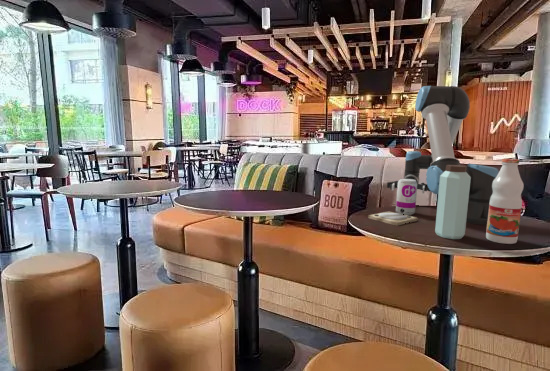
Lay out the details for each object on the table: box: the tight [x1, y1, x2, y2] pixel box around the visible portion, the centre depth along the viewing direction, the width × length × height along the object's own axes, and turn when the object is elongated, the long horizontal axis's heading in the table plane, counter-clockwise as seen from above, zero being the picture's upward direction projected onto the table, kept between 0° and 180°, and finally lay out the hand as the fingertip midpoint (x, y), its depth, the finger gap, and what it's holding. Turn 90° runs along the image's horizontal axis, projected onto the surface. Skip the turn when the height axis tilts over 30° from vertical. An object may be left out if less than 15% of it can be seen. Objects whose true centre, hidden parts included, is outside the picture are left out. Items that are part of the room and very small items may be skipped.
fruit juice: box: [485, 158, 525, 245], centre depth 129 cm, size 9×9×28 cm
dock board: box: [367, 210, 418, 226], centre depth 157 cm, size 14×14×2 cm
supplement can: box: [395, 178, 418, 216], centre depth 168 cm, size 8×8×15 cm
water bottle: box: [434, 164, 471, 240], centre depth 133 cm, size 10×10×25 cm
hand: (407, 189), depth 177 cm, fingers open, 13 cm apart
